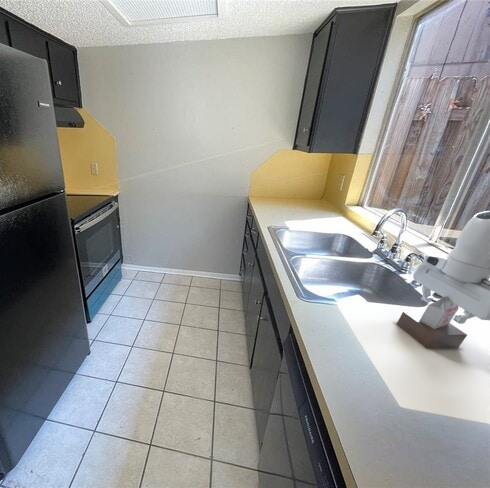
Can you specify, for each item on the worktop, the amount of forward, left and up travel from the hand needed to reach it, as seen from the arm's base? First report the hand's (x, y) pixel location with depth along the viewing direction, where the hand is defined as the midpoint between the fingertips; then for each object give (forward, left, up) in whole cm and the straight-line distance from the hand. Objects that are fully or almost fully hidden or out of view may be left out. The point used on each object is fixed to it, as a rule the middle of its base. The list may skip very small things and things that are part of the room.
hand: (440, 310), depth 75 cm
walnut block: (0, 0, -9) cm, 9 cm away
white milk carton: (0, 0, -5) cm, 5 cm away
